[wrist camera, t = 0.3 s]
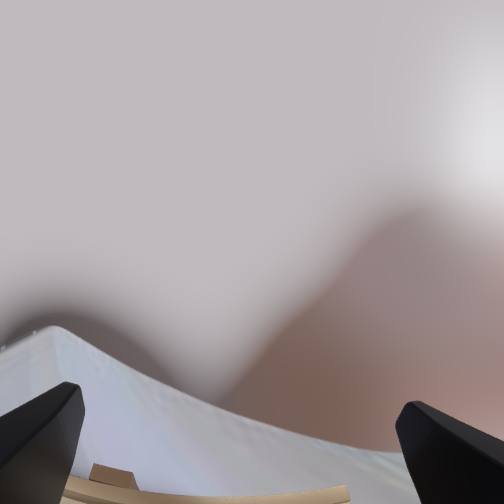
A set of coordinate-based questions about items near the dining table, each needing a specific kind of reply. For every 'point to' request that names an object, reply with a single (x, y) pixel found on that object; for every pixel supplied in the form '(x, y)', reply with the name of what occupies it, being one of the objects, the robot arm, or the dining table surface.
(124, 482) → the stand
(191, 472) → the dining table surface
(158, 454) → the dining table surface
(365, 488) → the dining table surface
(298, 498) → the beam
